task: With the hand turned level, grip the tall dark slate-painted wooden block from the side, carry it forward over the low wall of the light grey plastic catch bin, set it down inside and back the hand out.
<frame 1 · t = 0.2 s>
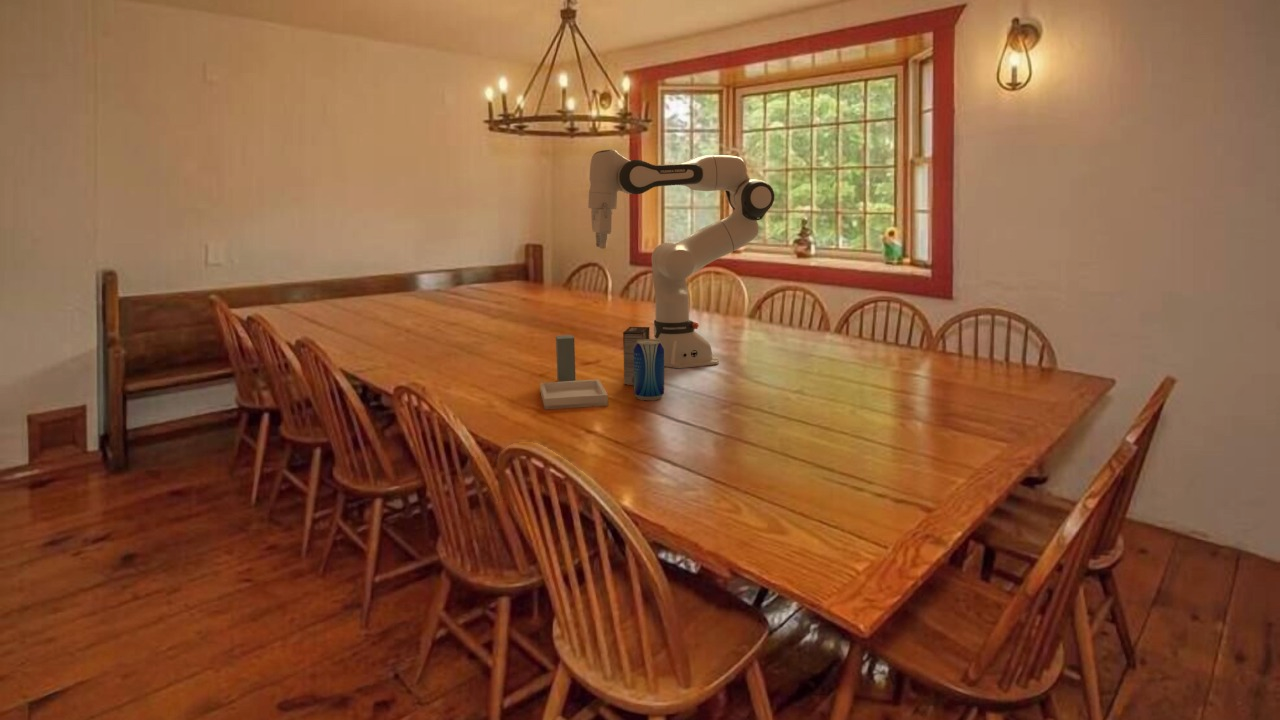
hand: (600, 247, 248), 38 cm above the table, tool pointing down, fingers open, 8 cm apart
beer can: (649, 398, 220), on the table
coffee box: (637, 382, 237), on the table
slate block: (566, 382, 237), on the table
catch bin: (573, 399, 219), on the table
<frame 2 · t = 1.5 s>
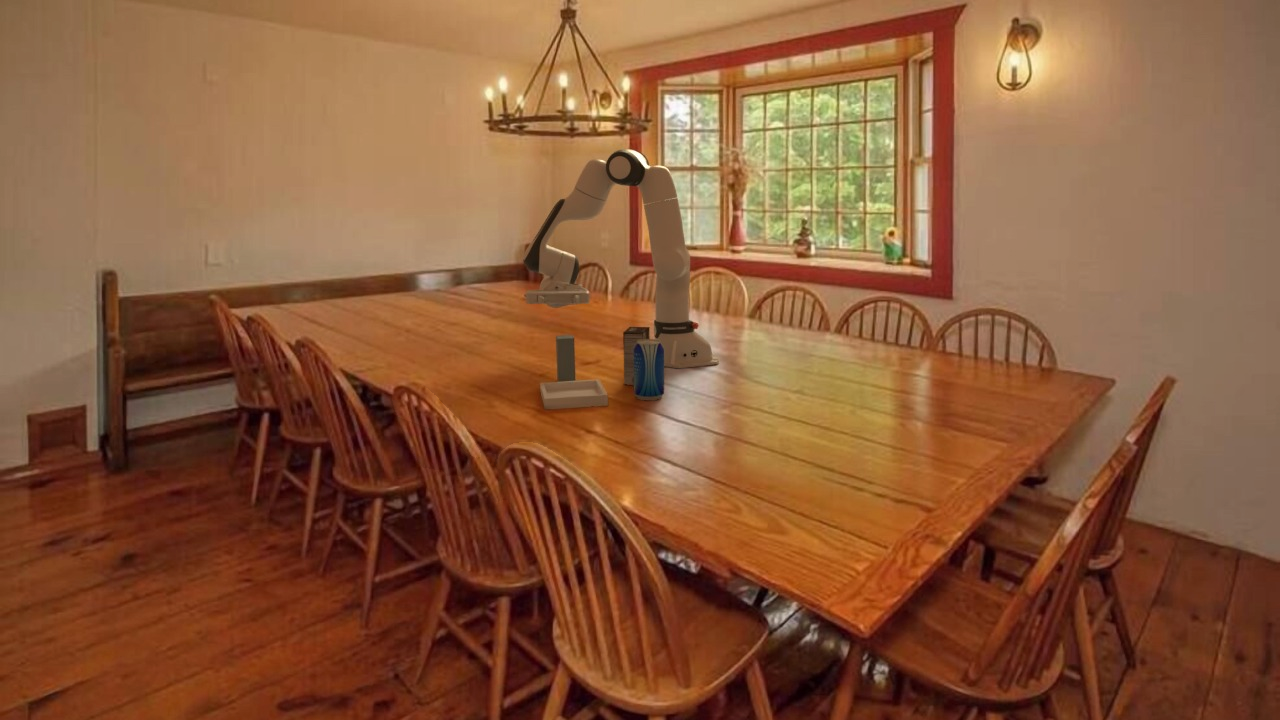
hand: (560, 300, 243), 23 cm above the table, tool horizontal, fingers open, 8 cm apart
nothing on the table moved.
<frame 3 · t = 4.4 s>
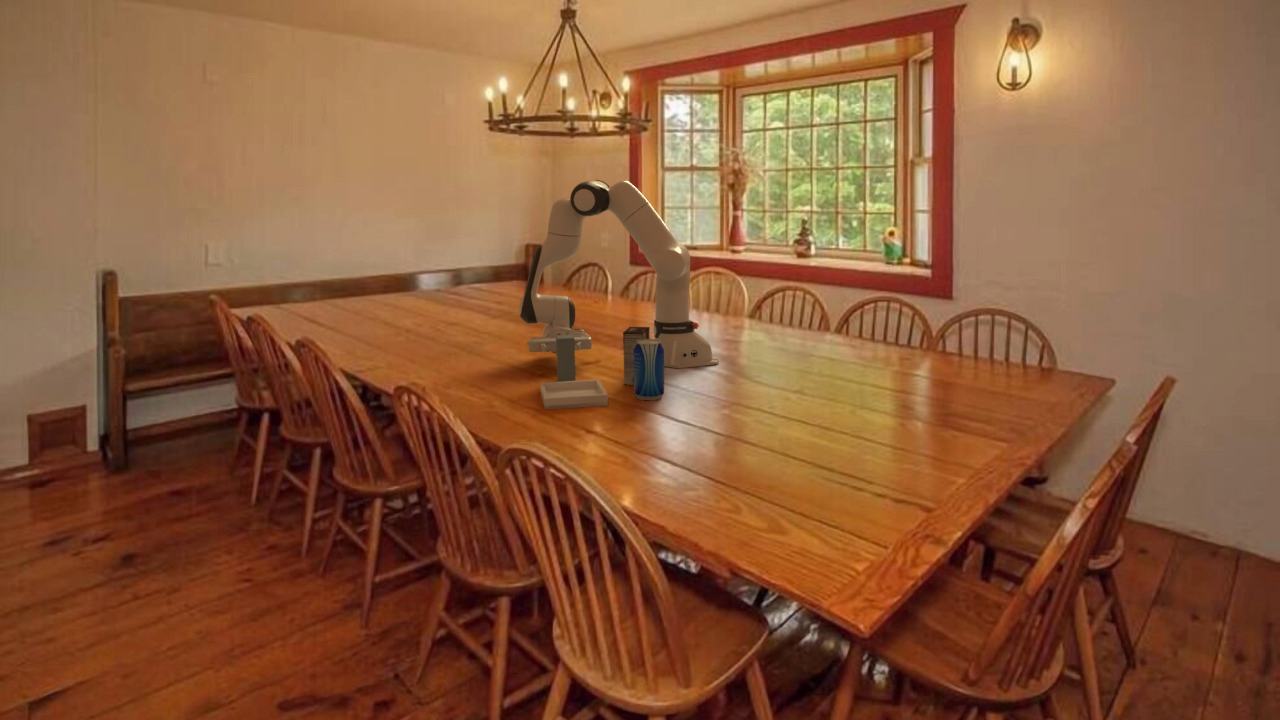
hand: (562, 348, 246), 8 cm above the table, tool horizontal, fingers open, 8 cm apart
nothing on the table moved.
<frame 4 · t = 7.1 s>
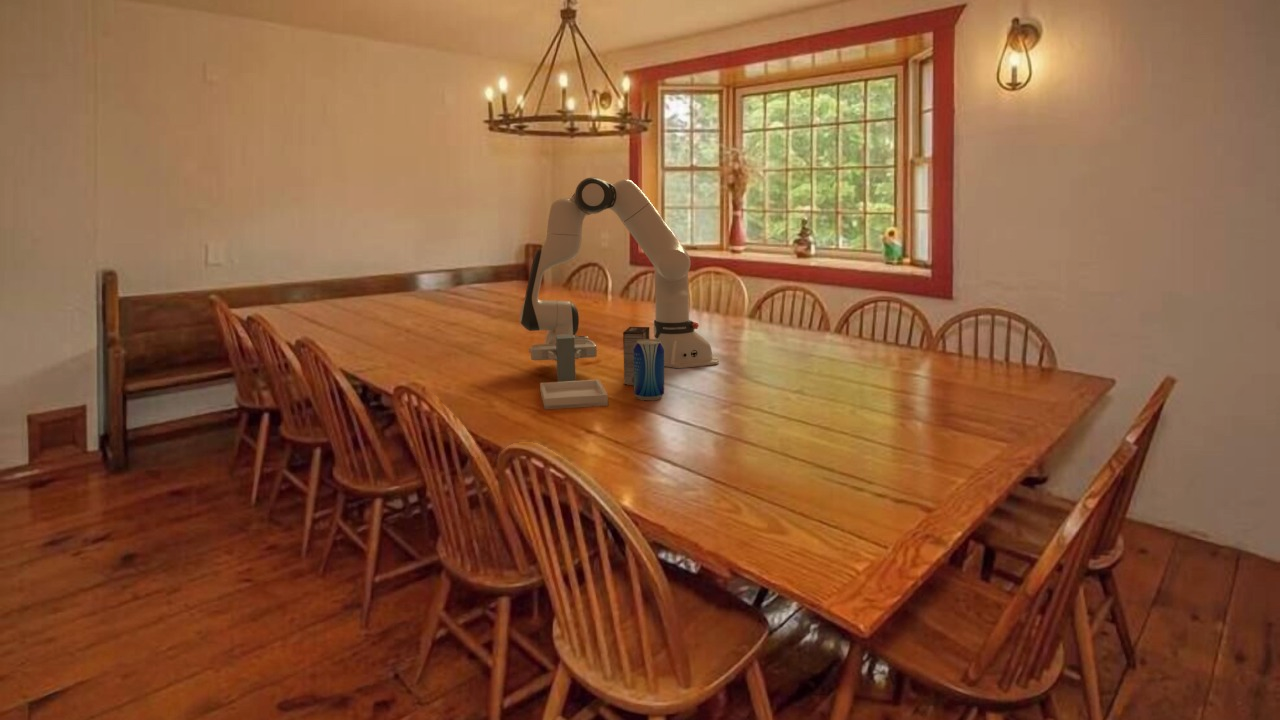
hand: (565, 356, 234), 8 cm above the table, tool horizontal, fingers closed on slate block, 5 cm apart
slate block: (566, 382, 237), on the table, touching gripper
everything else where it was.
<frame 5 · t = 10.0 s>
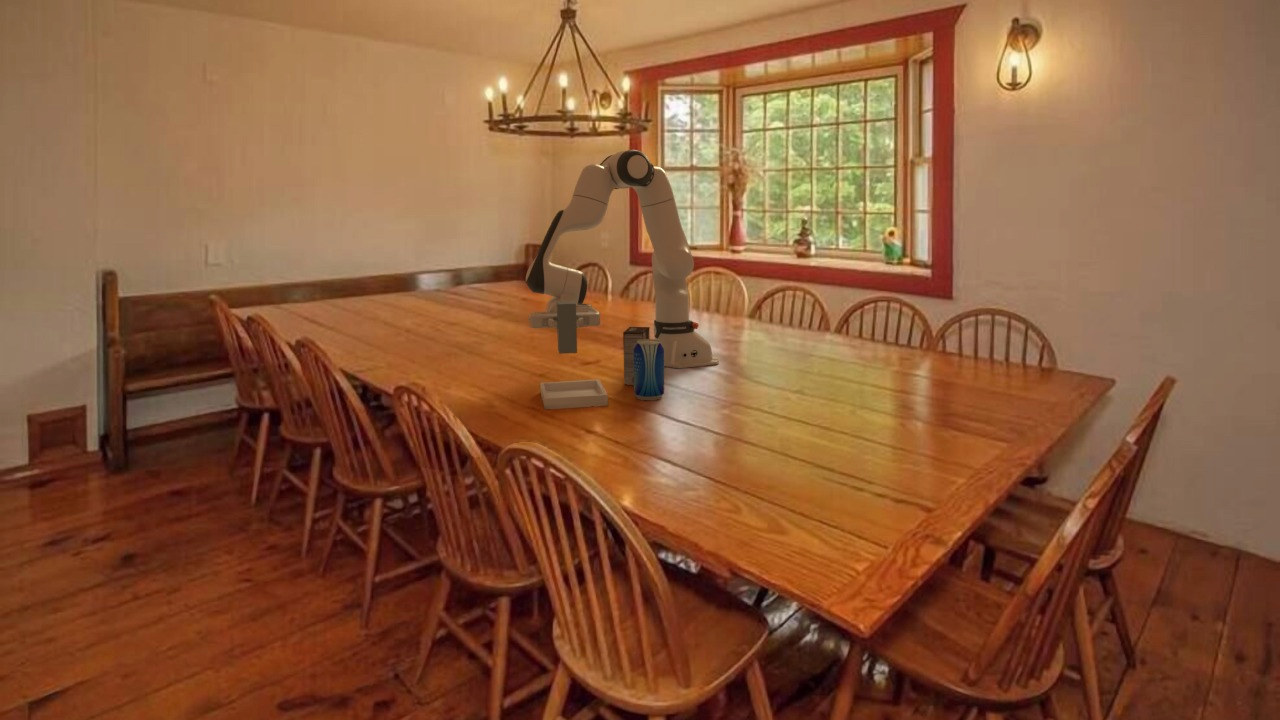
hand: (567, 324, 220), 20 cm above the table, tool horizontal, fingers closed on slate block, 5 cm apart
slate block: (567, 351, 223), point 12 cm above the table, touching gripper
everything else where it was.
when the fingers open (10 cm above the table, at t = 13.3 s): slate block drops 1 cm, resting on catch bin.
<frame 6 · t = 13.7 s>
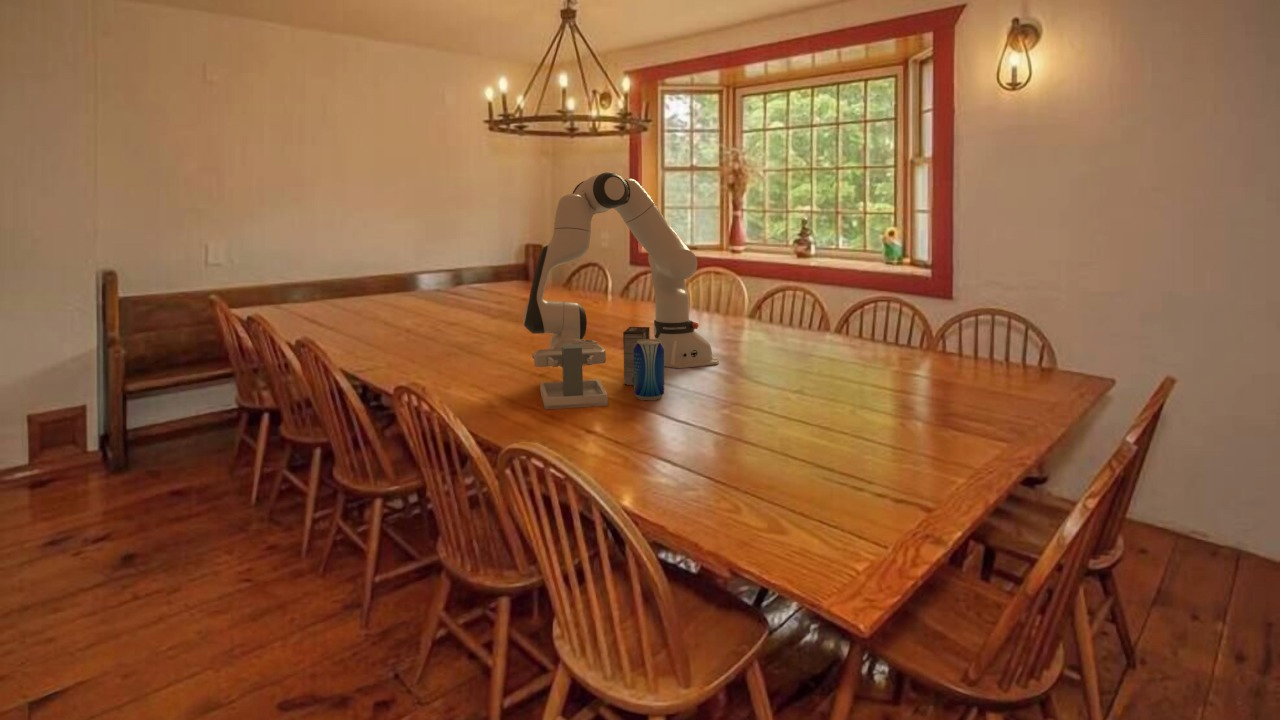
hand: (572, 363, 216), 10 cm above the table, tool horizontal, fingers open, 8 cm apart
slate block: (573, 395, 219), point 1 cm above the table, touching catch bin
everything else where it was.
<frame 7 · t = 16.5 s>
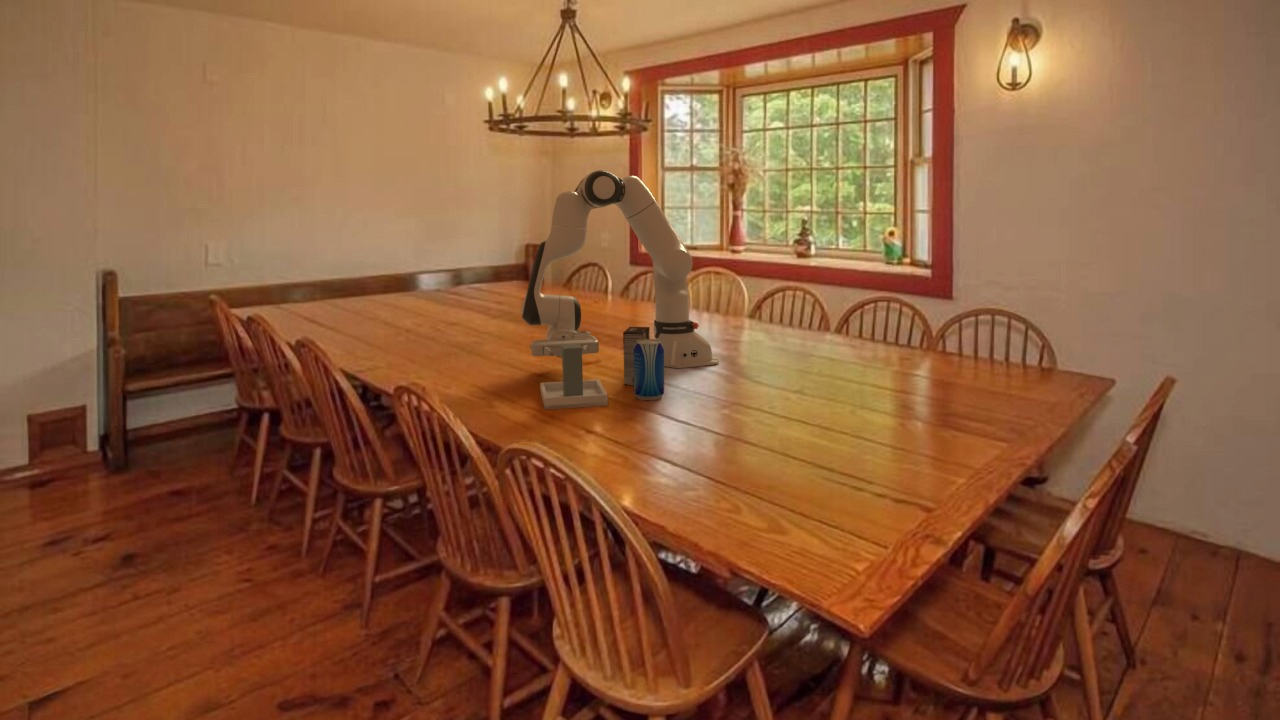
hand: (567, 352, 229), 10 cm above the table, tool horizontal, fingers open, 8 cm apart
nothing on the table moved.
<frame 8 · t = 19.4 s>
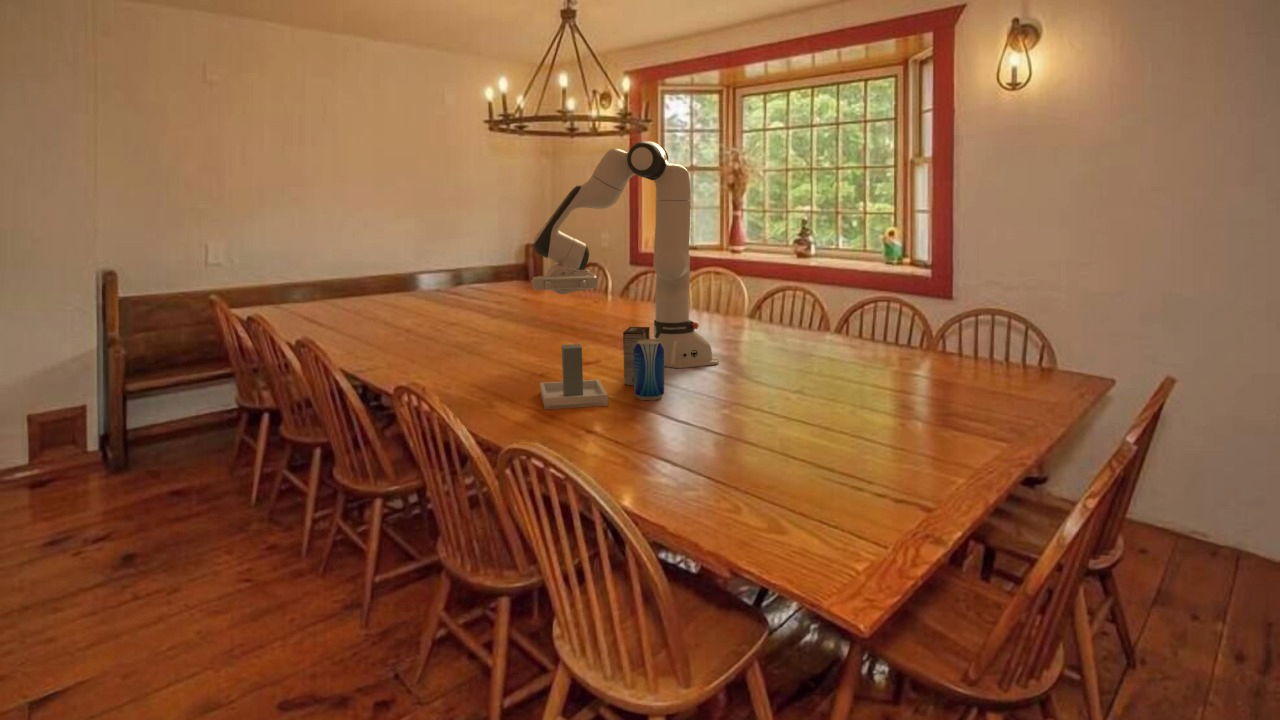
hand: (566, 285, 240), 28 cm above the table, tool horizontal, fingers open, 8 cm apart
nothing on the table moved.
at the end: slate block inside the target area on the catch bin (0.1 cm from its centre), point 1.0 cm above the catch bin's base; slate block tilted 0°; the gripper is holding nothing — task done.
